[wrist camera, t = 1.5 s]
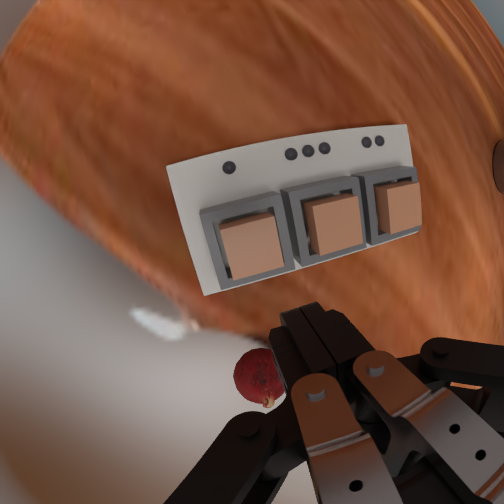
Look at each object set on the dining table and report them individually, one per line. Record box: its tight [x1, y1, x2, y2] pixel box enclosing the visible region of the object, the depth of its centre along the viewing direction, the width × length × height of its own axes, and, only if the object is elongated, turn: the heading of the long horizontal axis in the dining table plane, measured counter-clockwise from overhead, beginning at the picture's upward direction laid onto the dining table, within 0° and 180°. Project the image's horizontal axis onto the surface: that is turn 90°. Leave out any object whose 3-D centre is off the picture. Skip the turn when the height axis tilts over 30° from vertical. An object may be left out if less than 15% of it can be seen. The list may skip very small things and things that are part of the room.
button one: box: [218, 212, 284, 280], centre depth 22 cm, size 4×4×2 cm
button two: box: [374, 180, 422, 234], centre depth 23 cm, size 4×4×2 cm
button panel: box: [166, 124, 421, 296], centre depth 24 cm, size 24×12×4 cm, turn 102°
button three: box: [303, 193, 363, 256], centre depth 22 cm, size 4×4×2 cm
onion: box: [233, 348, 284, 408], centre depth 27 cm, size 6×6×8 cm
